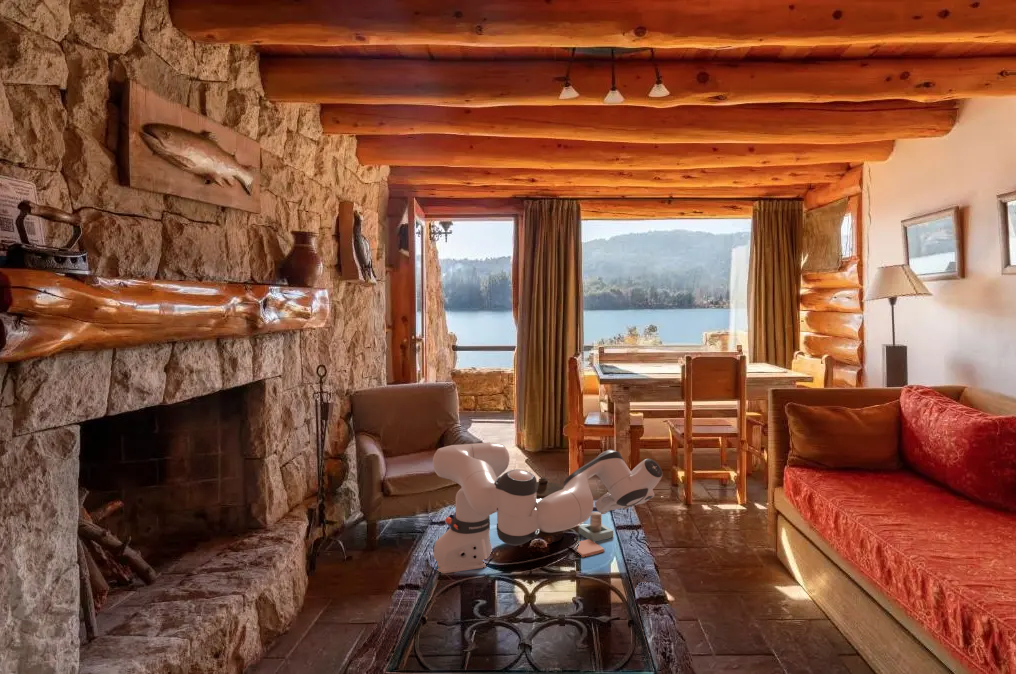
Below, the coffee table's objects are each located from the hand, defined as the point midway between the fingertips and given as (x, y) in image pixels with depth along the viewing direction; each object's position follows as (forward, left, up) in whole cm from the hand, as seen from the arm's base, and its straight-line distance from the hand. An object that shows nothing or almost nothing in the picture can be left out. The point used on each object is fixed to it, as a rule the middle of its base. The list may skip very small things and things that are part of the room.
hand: (613, 510), depth 214 cm
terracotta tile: (-10, +1, -13) cm, 16 cm away
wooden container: (-18, +18, -13) cm, 28 cm away
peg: (0, +9, -13) cm, 16 cm away
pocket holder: (0, +9, -13) cm, 16 cm away
